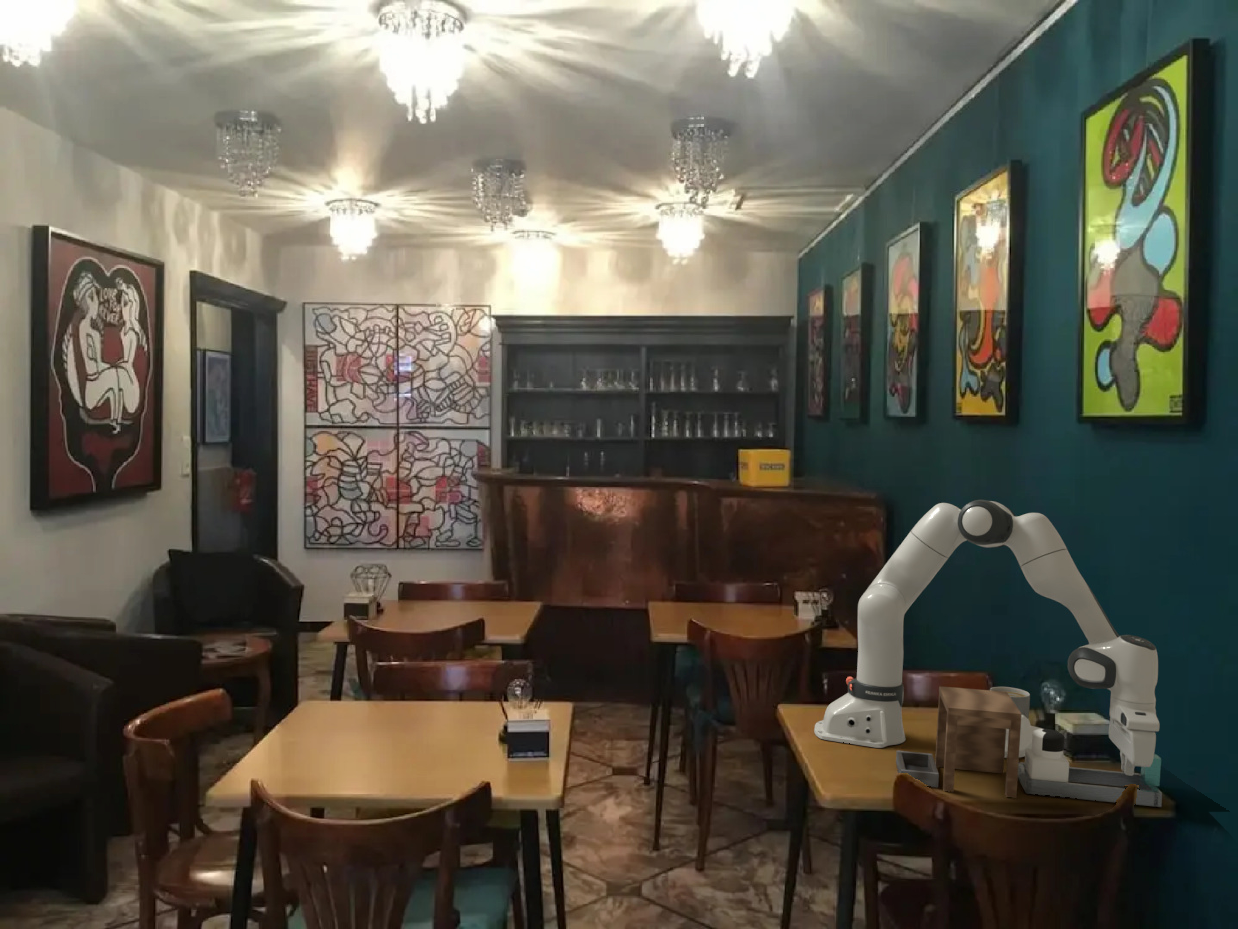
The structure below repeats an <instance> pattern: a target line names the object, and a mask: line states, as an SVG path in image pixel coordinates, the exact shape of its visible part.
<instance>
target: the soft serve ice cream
mask: <svg viewBox="0 0 1238 929" xmlns="http://www.w3.org/2000/svg"><path fill="white" fill-rule="evenodd" d="M1037 729H1044V728H1042V727H1039V726H1034V725H1031V721H1030V718H1029V719H1027V718H1026V717H1025V716H1023V715H1021V730H1020V746H1019V758H1023V757H1024V758H1025V751H1026V749H1027V748H1029V749H1032V733H1033V731H1035V730H1037ZM1008 735H1009V729H1006V739H1005V756H1004V759H1007V751H1008Z"/></svg>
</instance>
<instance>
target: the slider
mask: <svg viewBox="0 0 1238 929" xmlns="http://www.w3.org/2000/svg"><path fill="white" fill-rule="evenodd" d="M1161 767H1162V758H1161V756H1159V755H1158V754H1156V753H1154V758H1153V762H1152V764H1151V766H1150V767H1140V773H1138V772H1134V775H1133V776H1129V775H1126V774H1125V773H1124V772H1123V771H1116V770H1106V769H1095V768H1086V767H1085V768H1084V767H1074V766H1069V775H1068V783H1067V782H1057V781H1047V780H1037V779H1031V778H1030V776H1029V774H1028V773H1027V771H1026V769H1025V762H1021V761H1019V762H1018V779H1017V780H1018V781H1019V783H1020V785H1021V786H1022V788H1023V790H1024V792H1025V794H1028V795H1035V794H1038V795H1039V796H1045V795H1050V796H1049V797H1055V796H1060V797H1059V798H1065V797H1070V798H1069V799H1075V798H1077V799H1078V800H1085V801H1086V800H1087V801H1095V800H1096V801H1098V802H1104V803H1105V802H1107V803H1115V802H1116V800H1117V799H1118V798H1119V797H1120V796H1121V795H1122V792H1123V791H1124V790H1125V788H1126V787H1124V786H1125V785H1129V784H1136V785H1139V788H1136V789H1137V798H1136V805H1135V806H1137V805H1138V806H1148V807H1155V808H1156V807H1158V808H1162V804H1163V802H1162V801H1163V792H1162V791H1161V790H1160V789H1159V787H1160V781H1161ZM1139 789H1140V790H1139Z"/></svg>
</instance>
